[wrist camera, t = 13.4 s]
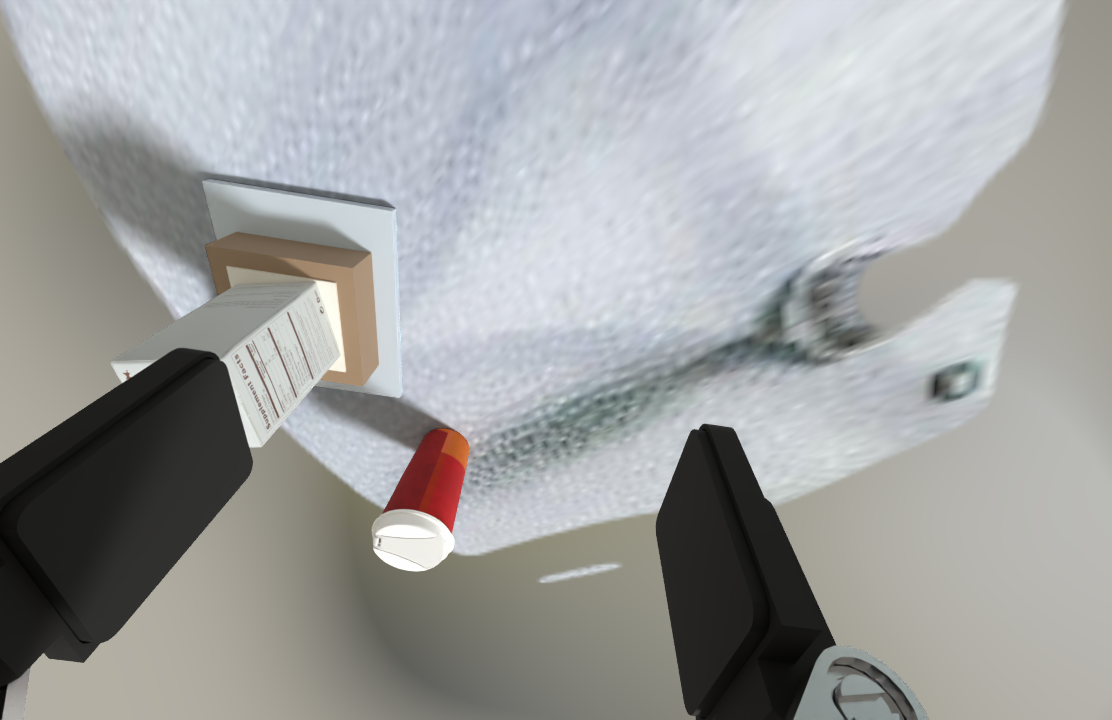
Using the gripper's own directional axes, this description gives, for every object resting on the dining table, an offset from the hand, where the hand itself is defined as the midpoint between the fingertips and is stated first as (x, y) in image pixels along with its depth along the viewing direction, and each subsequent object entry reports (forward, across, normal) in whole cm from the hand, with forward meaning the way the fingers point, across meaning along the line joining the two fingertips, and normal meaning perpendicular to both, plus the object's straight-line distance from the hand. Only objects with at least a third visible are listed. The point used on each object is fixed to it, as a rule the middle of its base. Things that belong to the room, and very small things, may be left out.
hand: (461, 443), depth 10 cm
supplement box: (+28, +21, +15) cm, 38 cm away
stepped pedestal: (+33, +21, +15) cm, 42 cm away
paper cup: (+34, +8, +32) cm, 47 cm away
